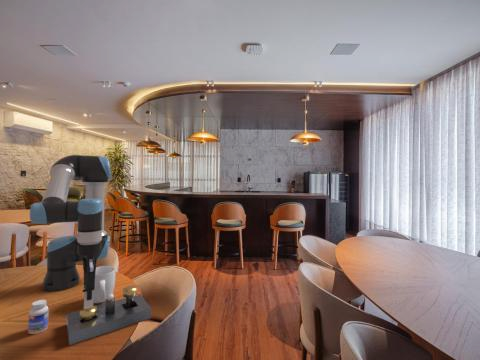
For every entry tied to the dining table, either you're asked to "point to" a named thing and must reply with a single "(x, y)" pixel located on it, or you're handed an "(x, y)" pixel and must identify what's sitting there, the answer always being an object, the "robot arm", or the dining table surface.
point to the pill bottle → (38, 317)
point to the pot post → (110, 303)
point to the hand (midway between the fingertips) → (88, 307)
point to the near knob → (88, 313)
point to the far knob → (130, 294)
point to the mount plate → (107, 320)
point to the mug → (103, 283)
